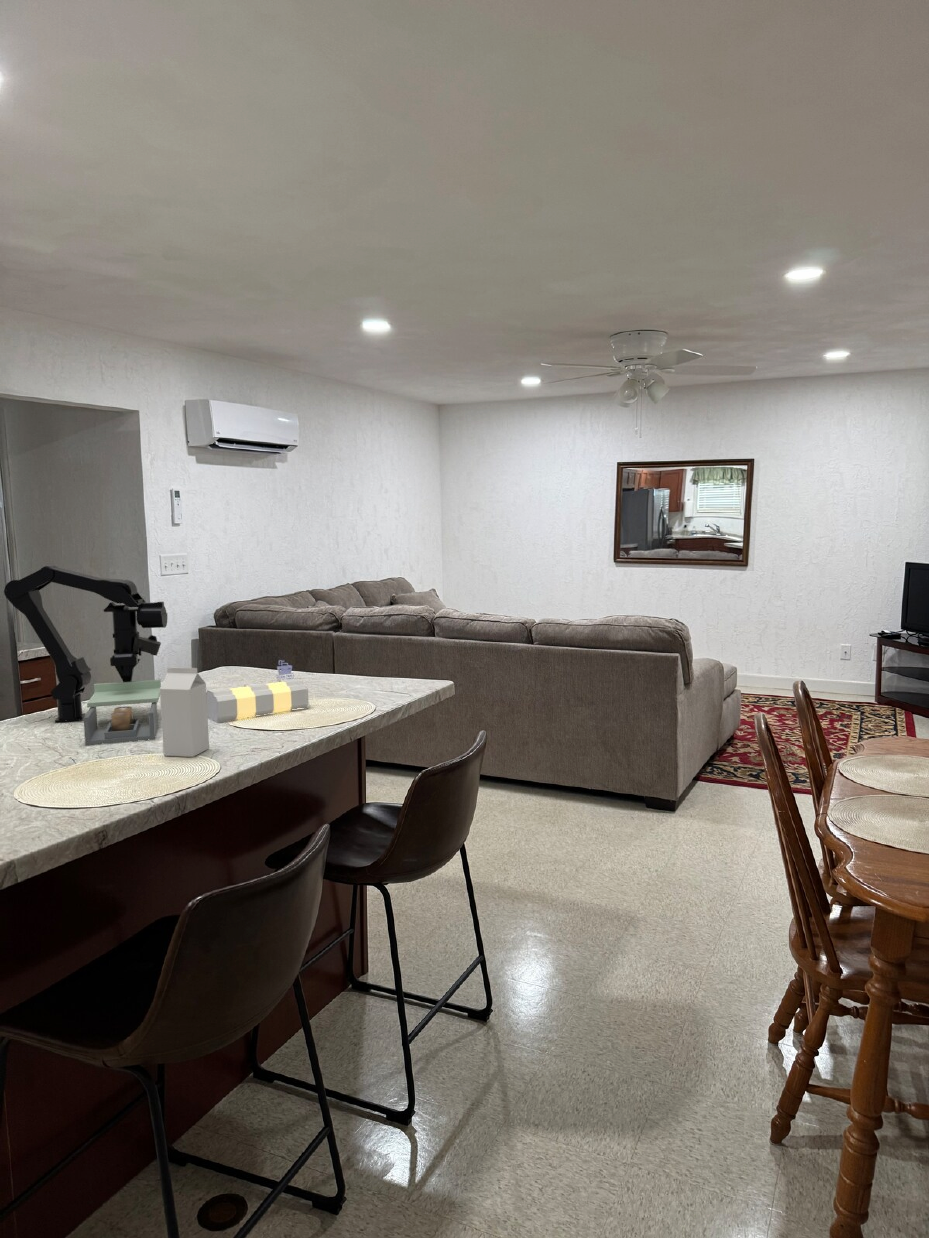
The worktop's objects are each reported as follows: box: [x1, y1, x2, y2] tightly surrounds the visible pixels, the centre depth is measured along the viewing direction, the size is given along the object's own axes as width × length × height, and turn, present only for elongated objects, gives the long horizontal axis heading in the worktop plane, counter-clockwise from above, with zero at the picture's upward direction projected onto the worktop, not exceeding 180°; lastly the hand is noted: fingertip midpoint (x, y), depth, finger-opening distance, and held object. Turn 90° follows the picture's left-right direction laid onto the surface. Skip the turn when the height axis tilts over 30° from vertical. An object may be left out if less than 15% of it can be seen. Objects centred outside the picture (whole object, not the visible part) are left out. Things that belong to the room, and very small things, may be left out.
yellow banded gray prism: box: [206, 659, 309, 723], centre depth 223 cm, size 25×10×13 cm, turn 126°
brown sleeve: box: [110, 712, 131, 732], centre depth 198 cm, size 4×4×5 cm
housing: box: [83, 702, 159, 746], centre depth 202 cm, size 14×15×6 cm
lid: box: [86, 679, 162, 708], centre depth 211 cm, size 15×16×3 cm
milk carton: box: [159, 667, 210, 758], centre depth 185 cm, size 7×7×19 cm
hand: (128, 687), depth 220 cm, fingers closed
